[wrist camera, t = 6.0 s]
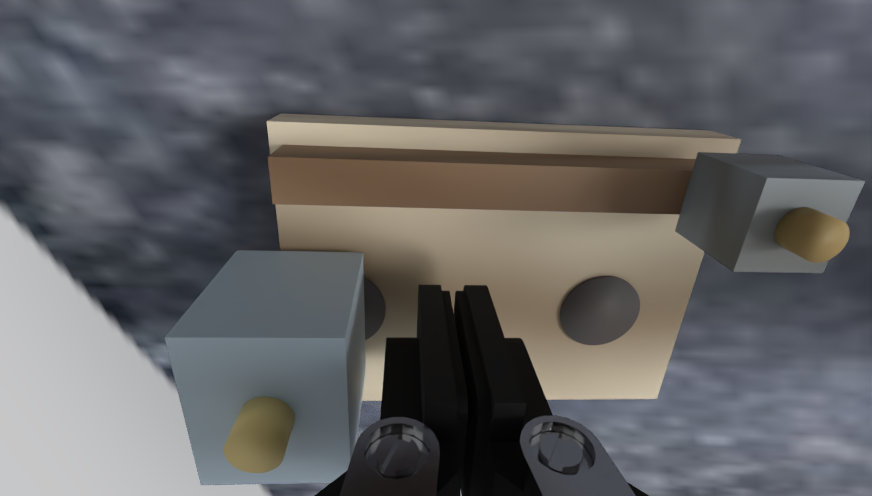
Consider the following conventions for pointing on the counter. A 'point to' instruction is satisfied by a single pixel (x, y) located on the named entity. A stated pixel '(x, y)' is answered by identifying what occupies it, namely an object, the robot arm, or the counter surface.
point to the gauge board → (549, 229)
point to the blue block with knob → (273, 367)
